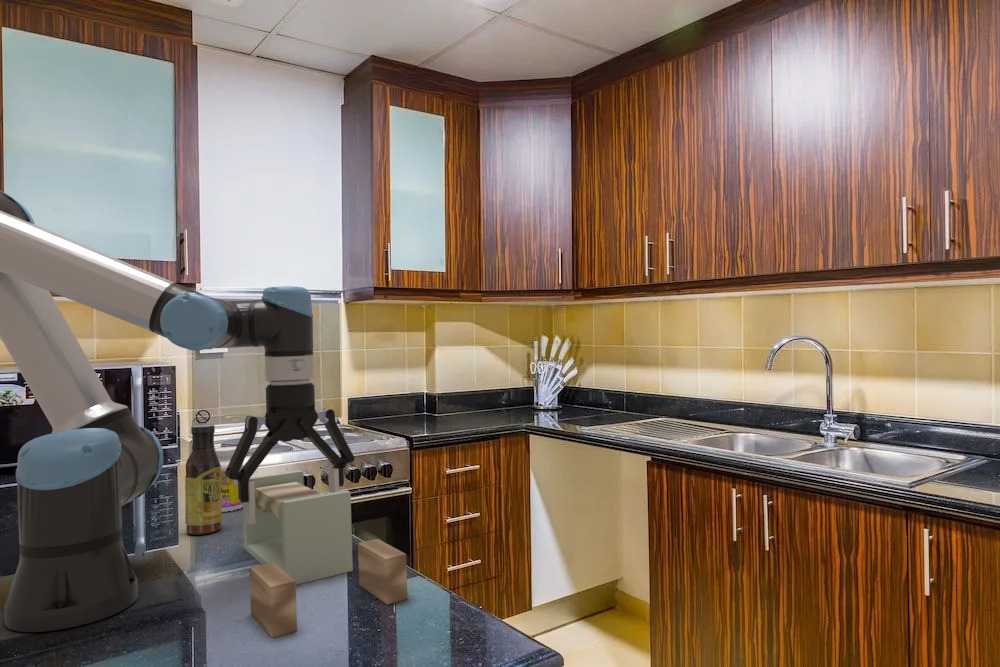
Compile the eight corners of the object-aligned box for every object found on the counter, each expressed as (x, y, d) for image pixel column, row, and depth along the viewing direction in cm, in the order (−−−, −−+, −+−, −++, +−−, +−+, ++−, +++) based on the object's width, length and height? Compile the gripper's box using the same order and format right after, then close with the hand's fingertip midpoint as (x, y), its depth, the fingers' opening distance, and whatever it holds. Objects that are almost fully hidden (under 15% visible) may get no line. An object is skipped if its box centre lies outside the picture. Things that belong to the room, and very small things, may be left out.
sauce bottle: (208, 536, 121) (205, 428, 121) (178, 535, 122) (175, 428, 122) (229, 526, 127) (226, 423, 127) (201, 525, 128) (198, 423, 129)
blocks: (271, 637, 78) (270, 587, 78) (250, 613, 86) (249, 567, 86) (407, 598, 89) (406, 554, 89) (378, 580, 96) (377, 538, 96)
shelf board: (255, 503, 112) (255, 488, 112) (296, 496, 116) (296, 481, 116) (290, 525, 97) (289, 508, 97) (335, 516, 101) (335, 500, 101)
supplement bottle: (203, 512, 139) (201, 450, 139) (226, 504, 145) (224, 445, 145) (229, 513, 137) (227, 451, 137) (251, 505, 143) (249, 446, 143)
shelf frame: (352, 570, 100) (350, 491, 101) (286, 587, 95) (284, 503, 95) (302, 537, 119) (300, 470, 119) (244, 548, 113) (242, 478, 113)
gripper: (213, 389, 97) (217, 534, 96) (371, 378, 111) (375, 505, 111) (202, 387, 103) (206, 524, 103) (353, 377, 117) (357, 497, 117)
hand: (294, 514), depth 107 cm, fingers open, 13 cm apart
